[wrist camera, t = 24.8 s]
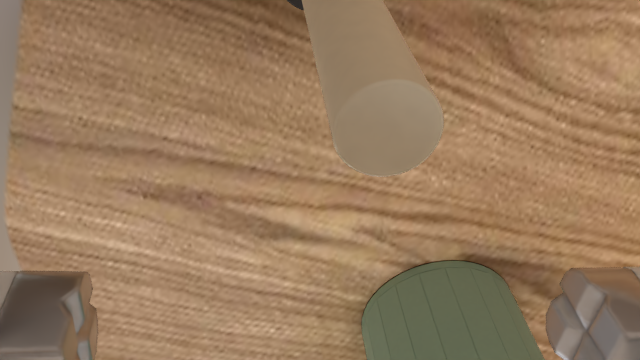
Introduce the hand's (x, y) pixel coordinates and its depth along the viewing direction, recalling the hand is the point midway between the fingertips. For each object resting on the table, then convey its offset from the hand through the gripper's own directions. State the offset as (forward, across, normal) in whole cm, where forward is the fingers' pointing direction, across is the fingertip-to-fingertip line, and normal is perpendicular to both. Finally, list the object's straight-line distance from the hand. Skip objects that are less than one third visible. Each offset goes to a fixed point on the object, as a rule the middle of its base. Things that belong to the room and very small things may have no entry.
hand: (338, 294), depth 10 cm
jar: (+17, -11, +20) cm, 29 cm away
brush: (+18, -1, -2) cm, 18 cm away
